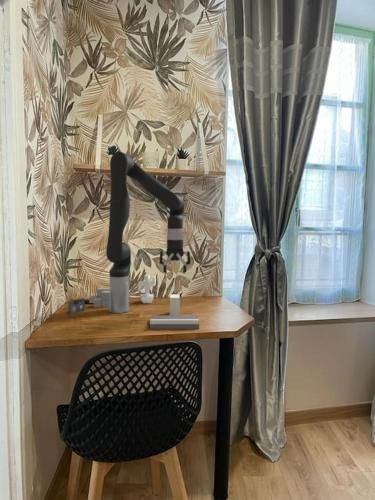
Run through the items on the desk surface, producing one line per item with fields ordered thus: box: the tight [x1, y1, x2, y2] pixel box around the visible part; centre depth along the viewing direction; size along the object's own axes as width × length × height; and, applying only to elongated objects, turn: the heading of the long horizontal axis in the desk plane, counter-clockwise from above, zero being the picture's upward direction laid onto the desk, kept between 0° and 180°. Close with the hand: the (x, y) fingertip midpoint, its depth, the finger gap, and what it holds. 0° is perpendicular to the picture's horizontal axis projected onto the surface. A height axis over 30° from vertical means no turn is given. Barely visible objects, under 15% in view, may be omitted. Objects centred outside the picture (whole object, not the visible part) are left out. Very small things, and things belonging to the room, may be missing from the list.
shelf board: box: [149, 314, 200, 330], centre depth 132 cm, size 20×12×4 cm, turn 92°
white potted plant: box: [137, 274, 157, 304], centre depth 169 cm, size 7×9×15 cm
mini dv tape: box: [67, 297, 86, 315], centre depth 149 cm, size 8×2×6 cm, turn 148°
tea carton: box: [169, 293, 181, 315], centre depth 146 cm, size 5×7×9 cm
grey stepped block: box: [88, 287, 110, 309], centre depth 163 cm, size 12×12×8 cm
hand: (174, 273), depth 144 cm, fingers open, 8 cm apart
